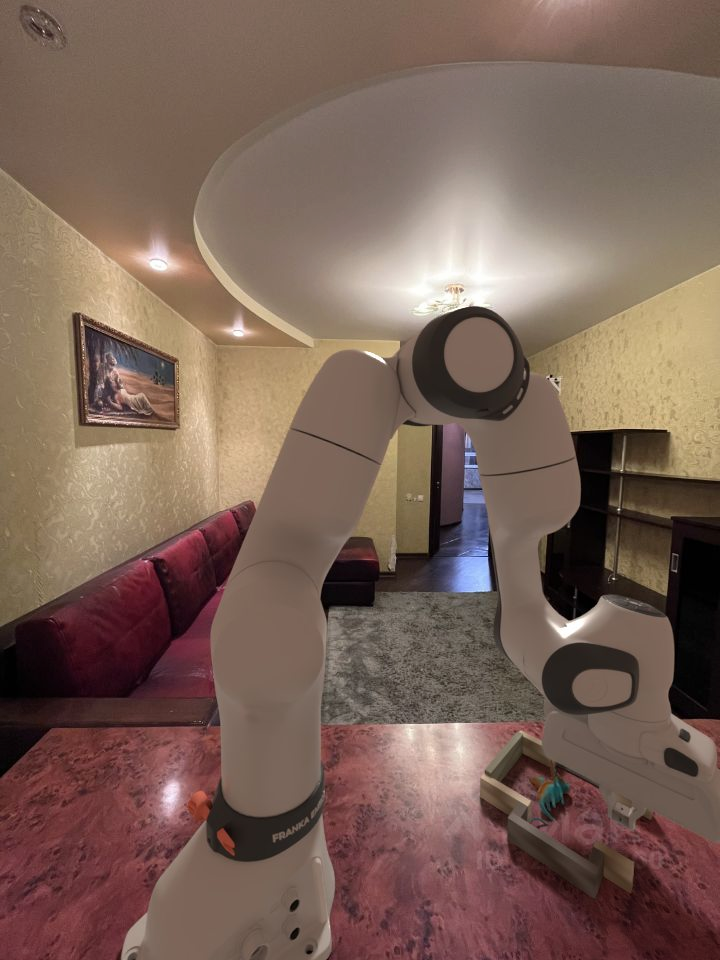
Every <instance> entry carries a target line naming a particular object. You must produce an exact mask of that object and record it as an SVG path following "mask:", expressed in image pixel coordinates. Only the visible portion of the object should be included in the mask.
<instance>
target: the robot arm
mask: <svg viewBox="0 0 720 960" xmlns="http://www.w3.org/2000/svg"><path fill="white" fill-rule="evenodd" d="M530 366H531V365H530V363H529V361H528V359H527V358H526V357H525V355H524V352H523V348H522V345H521V343H520V340H519V338H518V336H517V335H516V333H515V331H514V330H513V328H512V327H511V325H510V324H509V323H508V322H507V321H506V320H505V319H504V318H503V317H502V316H501V315H499V314H498V312H495V311H494V310H492V309H490V308H487V307H484V306H479V305H478V306H477V305H467V306H461V307H457V308H453V309H450V310H448V311H445V312H444V313H443V312H442V314H440V315H437V316H436V317H434V318H433V319H432V320H430V321H429V322H428V323H427V324H426V325H425V326H424V327H423V328H422V329H420V331H418V332H417V333H415V334H414V335H412V336H411V337H410V338H408V340H407V341H406V342H405V343H404V344H403V345H401V347H400V348H399V349H398V350H397V351H396V352H395V353H394V354H393V355H392V356H391V357H390V356H389V357H384V356H378V355H376V354H375V353H372V352H369V351H365V350H363V349H344V350H339V351H336V352H334V353H333V354H331V355H330V356H329V357H328V358H327V359H326V360H325V361H324V363H323V364H322V365H321V367H320V369H319V370H318V371H317V373H316V375H315V376H314V377H313V379H312V381H311V383H310V385H309V387H308V388H307V390H306V392H305V394H304V396H303V398H302V399H301V401H300V404H299V405H298V408H297V410H296V412H295V414H294V417H293V419H292V421H291V423H290V426H289V429H288V430H287V433H286V435H285V438H284V440H283V443H282V446H281V448H280V450H279V453H278V455H277V458H276V461H275V463H274V466H273V467H272V471H271V473H270V476H269V477H268V481H267V483H266V485H265V488H264V491H263V493H262V494H261V497H260V501H259V503H258V505H257V508H256V510H255V511H254V512H255V513H254V516H253V517H252V520H251V522H250V525H249V528H248V529H247V531H246V535H245V537H244V539H243V541H242V544H241V547H240V550H239V552H238V554H237V556H236V559H235V561H234V564H233V566H232V569H231V571H230V574H229V575H228V579H227V581H226V584H225V587H224V590H223V592H222V594H221V595H222V596H221V598H220V601H219V604H218V606H217V608H216V609H217V610H216V612H215V615H214V616H213V620H212V624H211V627H210V655H211V663H212V673H213V674H212V675H213V683H214V689H215V697H216V702H217V706H218V713H219V722H220V759H221V761H220V765H221V766H220V768H221V771H220V772H221V775H220V777H219V781H218V783H217V786H216V787H215V792H214V795H213V798H212V799H211V800H212V801H211V800H210V799H209V798H208V797H207V794H206V793H205V792H204V791H203V790H199V791H196V792H195V793H193V794H192V795H191V797H190V798H189V800H188V801H187V805H186V806H187V807H186V808H187V811H188V812H189V813H190V814H191V815H193V819H194V820H195V821H196V822H200V821H203V820H204V822H203V823H202V824H201V825H200V826H199V827H198V829H197V830H196V831H195V832H194V834H193V836H192V837H191V838H190V839H189V840H188V841H187V843H186V845H185V846H184V847H183V848H182V849H181V851H180V852H179V853H178V855H176V857H175V858H174V860H172V862H171V863H170V865H169V866H168V867H167V868H166V869H165V870H164V872H163V873H162V874H161V875H160V877H159V878H158V879H157V881H156V883H155V885H154V887H153V889H152V893H151V896H150V900H149V904H148V907H147V912H146V913H145V914H143V916H142V917H140V918H139V919H138V920H137V921H136V922H135V923H134V924H133V925H132V926H131V927H130V928H129V930H128V931H127V933H126V936H125V937H124V942H123V946H122V950H121V954H120V960H327V959H328V958H329V956H330V955H331V953H332V945H333V944H332V943H333V941H332V931H331V923H330V922H331V920H330V917H331V911H332V907H333V904H334V899H335V890H336V880H335V878H336V877H335V871H334V867H333V864H332V860H331V858H330V855H329V852H328V848H327V847H328V846H327V842H326V836H325V834H326V833H325V828H324V819H323V812H324V807H325V803H326V802H325V801H326V799H325V798H326V791H325V788H326V787H325V784H326V783H325V767H324V764H323V760H322V758H321V757H322V754H321V753H322V751H321V750H322V749H321V748H322V747H321V746H322V744H321V743H322V739H321V738H322V735H321V734H322V732H321V731H322V727H321V726H322V725H321V724H322V722H321V719H322V717H321V713H322V712H321V711H322V699H323V698H322V697H323V691H324V681H325V671H326V658H327V657H326V655H327V640H328V639H327V634H328V623H327V617H326V613H325V611H324V607H323V606H324V605H323V604H322V600H321V594H322V588H323V584H324V582H325V580H326V577H327V575H328V573H329V571H330V569H331V568H332V565H333V564H334V562H335V561H336V559H337V557H338V555H339V554H340V552H341V551H342V549H343V547H344V545H345V544H346V543H347V541H348V540H349V539H350V538H351V537H352V536H353V535H354V533H355V532H356V530H357V528H358V525H359V522H360V521H361V517H362V516H363V512H364V510H365V507H366V505H367V502H368V500H369V498H370V495H371V492H372V490H373V487H374V484H375V483H376V480H377V477H378V474H379V473H380V469H381V466H382V465H383V462H384V459H385V456H386V454H387V451H388V447H389V445H390V441H391V440H392V439H393V438H394V436H395V435H396V432H397V431H398V430H399V428H400V427H401V426H404V425H405V426H411V427H431V426H434V425H437V426H442V425H443V426H445V425H450V424H457V425H458V426H459V427H461V428H462V429H463V431H464V432H465V434H467V436H468V438H469V440H470V442H471V443H472V447H473V448H474V452H475V459H476V464H477V465H476V466H477V468H478V469H477V470H478V475H479V480H480V481H479V482H480V485H481V489H482V493H483V497H484V504H485V507H486V512H487V519H488V526H489V528H488V529H489V540H490V547H491V555H492V564H493V569H494V575H495V576H494V577H495V584H496V592H497V600H496V601H497V603H496V610H495V613H494V614H495V616H494V619H493V626H492V629H493V630H492V631H493V639H494V642H495V645H496V647H497V649H498V650H499V652H500V653H501V654H502V655H503V656H504V657H505V658H506V659H507V660H508V661H509V662H510V663H512V665H514V666H515V667H516V668H517V669H518V670H519V671H520V672H521V673H522V674H523V676H524V677H526V678H527V680H528V681H529V682H530V683H531V684H532V686H534V687H535V689H537V690H538V692H540V694H541V695H542V696H543V697H544V700H543V713H544V717H545V722H544V726H543V730H542V736H541V741H542V744H541V747H542V750H543V752H544V753H545V755H546V757H548V758H549V759H551V760H553V761H555V762H557V763H559V764H561V765H563V766H565V767H567V768H569V769H571V770H573V771H575V772H577V773H579V774H581V775H582V776H584V777H586V778H588V779H590V780H592V781H594V782H596V783H598V784H599V787H598V790H599V792H600V795H601V797H602V798H603V800H604V802H605V805H606V806H607V818H608V819H610V820H612V821H613V822H615V823H617V824H618V825H621V826H622V827H624V828H626V829H627V830H630V831H631V832H634V831H635V828H636V824H637V820H638V819H640V818H641V817H643V816H642V815H643V814H644V813H645V810H646V808H647V809H649V810H651V811H653V813H655V814H657V815H658V816H661V817H662V818H664V819H667V820H668V821H671V822H672V823H675V824H676V825H678V826H679V827H682V828H684V829H686V830H688V831H690V832H691V833H694V834H696V835H698V836H700V837H702V839H703V838H704V839H706V840H707V841H709V842H710V843H711V842H712V843H714V844H720V769H719V768H718V766H717V763H718V751H717V747H716V746H717V745H716V743H715V741H714V740H712V739H711V738H710V737H709V736H707V735H706V734H704V733H703V732H701V731H699V730H698V729H696V728H695V727H693V726H691V725H689V724H688V723H687V722H685V721H683V720H682V719H680V718H679V717H678V716H676V715H674V714H673V713H672V708H671V703H670V700H669V691H670V688H671V687H672V684H673V681H674V673H675V640H674V639H675V638H674V633H673V628H672V625H671V622H670V620H669V617H668V616H667V615H666V614H665V613H664V612H663V611H661V610H660V609H658V608H656V607H654V606H652V605H650V604H648V603H646V602H643V601H641V600H637V599H633V598H631V597H627V596H623V595H620V594H604V595H602V596H600V598H599V600H598V602H597V604H595V606H594V607H592V608H590V610H588V611H587V612H586V613H584V614H582V615H581V616H579V617H576V618H574V619H572V620H568V619H567V618H565V617H564V616H562V615H561V614H559V612H558V611H557V610H555V609H554V608H553V607H552V605H551V604H550V603H549V601H548V600H547V599H546V596H545V594H544V591H543V585H542V583H543V582H542V575H541V567H540V559H539V544H540V540H541V539H542V538H543V537H544V536H548V535H549V534H552V533H555V532H557V531H559V530H561V529H562V528H564V527H565V526H566V525H567V524H568V523H569V522H570V521H571V520H572V518H573V517H574V516H575V515H576V513H577V512H578V510H579V507H580V505H581V498H582V497H581V493H582V492H581V491H582V488H581V486H582V484H581V475H580V470H579V465H578V464H579V463H578V460H577V455H576V450H575V445H574V440H573V437H572V434H571V430H570V426H569V423H568V419H567V416H566V414H565V410H564V408H563V406H562V403H561V401H560V398H559V395H558V393H557V391H556V388H555V387H554V385H553V383H552V382H551V381H550V380H549V379H548V378H547V377H546V376H545V375H542V374H540V373H536V372H533V371H531V369H530V368H531V367H530ZM613 791H614V792H616V793H618V794H620V795H621V796H623V797H625V798H627V799H629V800H631V801H632V808H629V807H627V806H625V805H623V804H621V803H619V802H617V800H616V798H615V796H614V793H613ZM309 951H311V953H309V954H308V953H307V952H309Z"/></svg>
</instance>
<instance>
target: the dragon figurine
mask: <svg viewBox="0 0 720 960" xmlns="http://www.w3.org/2000/svg"><path fill="white" fill-rule="evenodd" d="M549 768H550V769H549V770H550V774H551V777H550V779H551V780H550V779H547V780H546V778H545V777H544V776H543V777H542V776H537V775H536V776H533V777H530V778H529V781H530V784H531V785H533V784H534V789H536V790H537V792H536V793H537V801H538V804H539V807H540V809H541V811H542V812H543V814H544V815H546V816H547V818H549V819H550V821H551V822H555V820H554V818H553V816H552V815H551V814H550V813H549V812H548V811H550V812H551V811H552V809H551V805H552V808H553V809H554V808H556V807H557V806H560V805H559V804H557V803H559V802H561V804H562V805H563V806H564V805H565V802H564V795H567V794H570V793H571V791H572V789H571V788H570V785H569V784H568V782H567V781H566V779H564V777H563V776H562V777H561V775H560V774H559V773H558V772H556V771H557V769H556V766H555V767H554V766H553V763H552V760H551V761H550V767H549ZM563 794H564V795H563ZM550 802H551V805H550ZM556 804H557V806H556ZM545 805H546V806H545ZM547 810H548V811H547ZM536 820H538V821H540V822H541V823H543V824H544V825H546V826H548V827H549V826H550V824H549V823H547V822H546V821H544V820H543V819H541V818H540V817H533V818H532V819H531V821H530V823H533V821H536Z"/></svg>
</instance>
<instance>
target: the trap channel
mask: <svg viewBox="0 0 720 960" xmlns="http://www.w3.org/2000/svg"><path fill="white" fill-rule="evenodd" d="M541 744H542V739H539V738H538V737H535V736H533V735H531V734H529V733H526V732H525V731H523V730H521V729H520V730H519V731H516V732H515V734H514V735H513V736H512V737H511V738H510V739H509V740H508V741H507V743H506V744H505V745H504V746H503V747H502V748H501V749H500V751H499V752H498V753H497V754H496V755H495V757H494V758H493V759H492V760H491V761H490V762H489V764H488V765H487V766H486V767H485V768H484V772H483V773H482V775H481V776H480V781H479V782H480V783H479V798H481V799H483V800H484V801H486V802H487V803H489V804H491V805H492V806H494V807H495V808H497V809H498V810H500V811H501V812H503V813H505V814H506V815H508V817H507V826H506V827H507V828H506V830H507V832H506V834H507V835H506V839H507V840H508V841H509V842H511V844H514V845H515V846H516V847H518V848H520V849H521V850H522V851H523V852H525V853H526V854H528V855H529V856H531V857H532V858H534V859H535V860H537V861H538V860H539V861H538V862H540V863H541V862H542V863H541V864H543V865H544V864H545V865H547V866H548V867H549V868H548V867H547V866H546V867H547V868H548V869H549V870H551V871H553V872H554V873H555V874H557V875H559V876H560V877H562V878H563V879H564V880H566V881H567V882H569V883H570V884H572V885H573V886H575V887H576V888H577V889H579V890H580V891H582V892H583V893H585V894H586V895H588V897H590V898H592V899H594V900H596V898H597V895H598V892H599V889H600V887H601V884H602V881H603V878H605V879H607V880H608V881H610V882H611V883H613V884H615V885H616V886H617V887H619V888H621V889H623V891H625V892H627V893H629V894H632V891H633V887H634V871H635V870H634V869H635V861H633V860H631V859H629V858H628V857H626V856H624V855H623V854H621V853H619V852H618V851H616V850H614V849H612V848H611V847H609V846H607V845H606V844H604V843H603V842H601V841H599V840H597V839H595V841H594V843H593V846H592V849H591V851H590V854H589V856H588V858H585V857H583V856H581V855H580V854H578V853H577V852H575V851H574V850H572V849H571V848H569V847H568V846H566V845H565V844H563V843H561V842H559V841H558V840H557V839H555V838H553V837H552V836H550V835H549V834H547V833H546V832H544V831H542V830H541V829H539V828H537V827H536V826H535V825H533V824H531V820H532V819H531V817H532V816H531V815H532V814H531V813H532V800H530V799H528V798H527V797H526V796H523V795H522V794H520V793H519V792H517V791H516V790H514V789H512V788H510V787H508V786H507V785H505V784H504V783H502V781H503V779H505V777H506V776H507V774H508V773H509V772H510V770H511V769H512V768H513V767H514V765H515V764H516V763H517V762H518V760H519V759H520V758H521V756H522V755H524V756H527V757H529V758H531V759H533V760H534V761H536V762H539V763H541V764H543V765H545V766H546V767H547V768H550V761H551V759H549V758H548V757H546V755H545V753H544V752H543V750H542V747H541ZM552 763H553V766H554V767H555V768H556V767H558V768H560V769H563V770H564V771H566V772H569V773H570V774H573V775H575V776H576V777H578V778H580V779H582V780H584V781H586V782H588V783H589V784H591V785H593V786H596V787H597V788H599V784H598V783H596V782H594V781H592V780H590V779H588V778H586V777H584V776H582V775H581V774H579V773H577V772H575V771H573V770H571V769H569V768H567V767H565V766H563V765H561V764H559V763H557V762H555V761H553V760H552ZM613 793H614V796H615V798H616V800H617V802H619V803H621V804H623V805H625V806H627V807H629V808H632V801H631V800H629V799H627V798H625V797H623V796H621V795H620V794H618V793H616V792H614V791H613ZM653 814H654V812H653V811H651V810H649V809H647V808H646V810H645V813H644V814H643V815H642V816H641V817H644V818H646V819H647V820H649V821H652V819H653V816H654V815H653ZM545 865H544V866H545Z"/></svg>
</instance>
